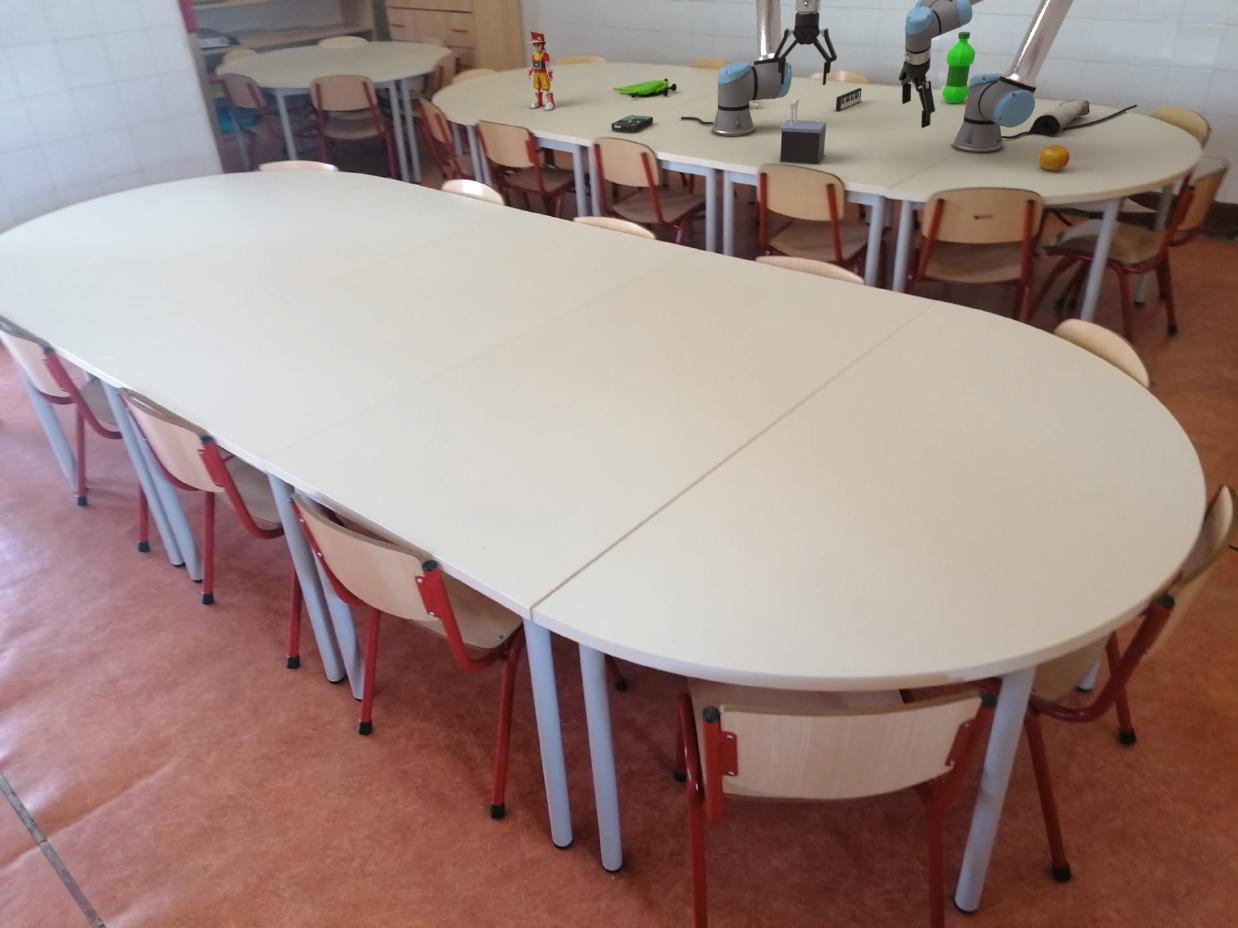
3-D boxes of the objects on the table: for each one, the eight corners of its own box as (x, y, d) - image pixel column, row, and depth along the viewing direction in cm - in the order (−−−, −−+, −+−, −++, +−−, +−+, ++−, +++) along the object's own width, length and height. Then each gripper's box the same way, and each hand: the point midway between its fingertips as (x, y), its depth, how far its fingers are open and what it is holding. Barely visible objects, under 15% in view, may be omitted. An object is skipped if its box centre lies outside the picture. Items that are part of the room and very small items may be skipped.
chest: (780, 162, 303) (781, 131, 297) (787, 153, 310) (788, 123, 304) (817, 164, 298) (819, 133, 293) (823, 155, 306) (826, 125, 300)
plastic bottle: (973, 101, 354) (984, 32, 339) (955, 106, 349) (966, 36, 335) (952, 97, 361) (962, 29, 346) (934, 102, 356) (944, 33, 342)
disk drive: (634, 134, 341) (653, 123, 351) (633, 126, 339) (653, 116, 349) (611, 131, 346) (631, 121, 356) (610, 123, 344) (630, 114, 354)
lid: (780, 131, 297) (781, 105, 292) (787, 123, 305) (788, 97, 300) (819, 133, 293) (821, 106, 288) (826, 125, 300) (828, 99, 295)
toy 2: (686, 85, 398) (631, 84, 414) (685, 72, 395) (629, 72, 411) (651, 104, 381) (596, 103, 397) (650, 92, 378) (594, 91, 394)
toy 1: (525, 109, 381) (517, 32, 364) (534, 104, 388) (527, 28, 371) (550, 110, 377) (543, 32, 360) (559, 105, 384) (553, 28, 367)
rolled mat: (1057, 104, 331) (1081, 87, 323) (1070, 125, 332) (1095, 108, 324) (1024, 126, 314) (1049, 109, 306) (1039, 148, 314) (1064, 131, 306)
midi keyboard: (838, 111, 353) (839, 97, 350) (835, 110, 353) (836, 97, 350) (860, 101, 363) (861, 88, 360) (857, 101, 364) (859, 88, 361)
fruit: (1034, 160, 277) (1052, 137, 274) (1032, 163, 285) (1050, 140, 282) (1057, 176, 276) (1076, 152, 273) (1055, 178, 284) (1073, 155, 281)
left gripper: (766, 14, 282) (763, 86, 294) (846, 13, 275) (840, 87, 287) (769, 10, 288) (767, 81, 300) (849, 10, 281) (843, 81, 293)
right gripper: (888, 41, 283) (888, 96, 301) (925, 86, 269) (922, 141, 287) (910, 31, 282) (909, 87, 300) (948, 76, 269) (945, 131, 287)
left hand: (803, 84), depth 294 cm, fingers open, 13 cm apart
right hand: (915, 114), depth 294 cm, fingers open, 13 cm apart
